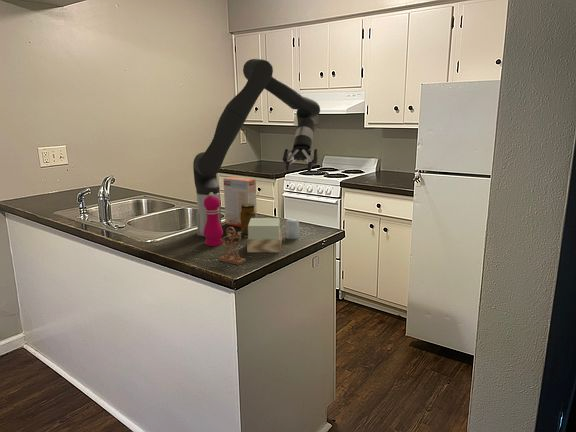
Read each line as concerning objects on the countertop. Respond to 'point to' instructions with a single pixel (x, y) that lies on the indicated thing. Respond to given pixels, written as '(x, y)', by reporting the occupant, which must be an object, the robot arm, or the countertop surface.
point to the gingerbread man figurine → (227, 256)
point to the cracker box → (238, 198)
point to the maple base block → (264, 244)
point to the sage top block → (264, 228)
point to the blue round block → (292, 228)
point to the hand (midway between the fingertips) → (298, 171)
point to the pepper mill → (212, 221)
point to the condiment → (246, 218)
